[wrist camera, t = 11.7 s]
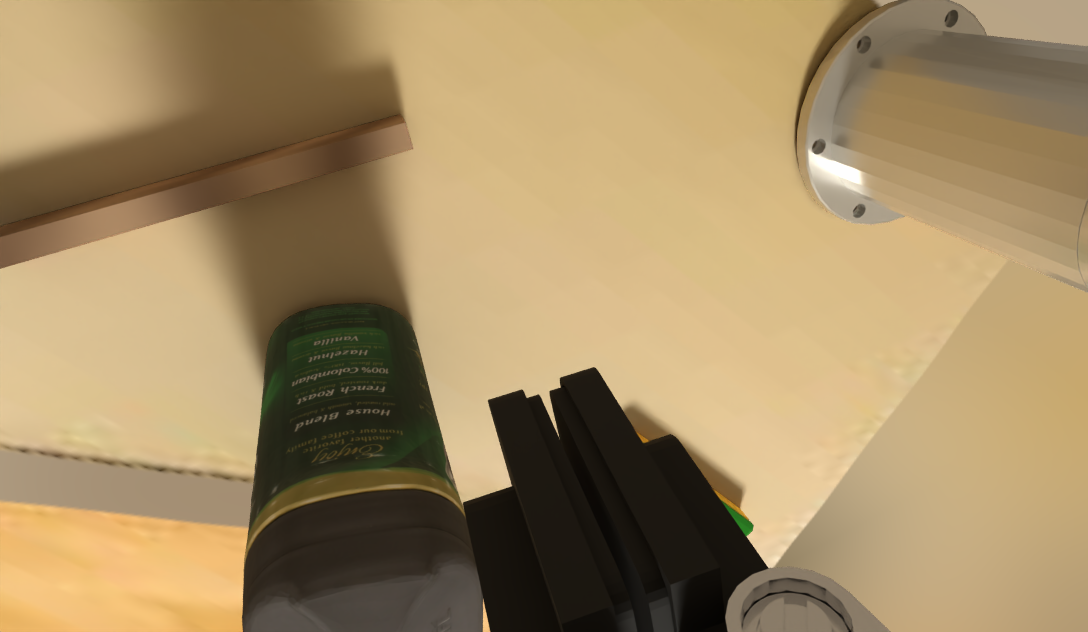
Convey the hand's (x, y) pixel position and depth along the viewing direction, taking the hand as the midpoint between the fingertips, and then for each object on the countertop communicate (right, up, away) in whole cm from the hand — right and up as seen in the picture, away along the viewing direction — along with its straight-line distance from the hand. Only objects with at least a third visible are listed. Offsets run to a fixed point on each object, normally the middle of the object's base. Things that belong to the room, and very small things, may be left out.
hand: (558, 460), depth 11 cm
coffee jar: (-11, -1, +27) cm, 29 cm away
